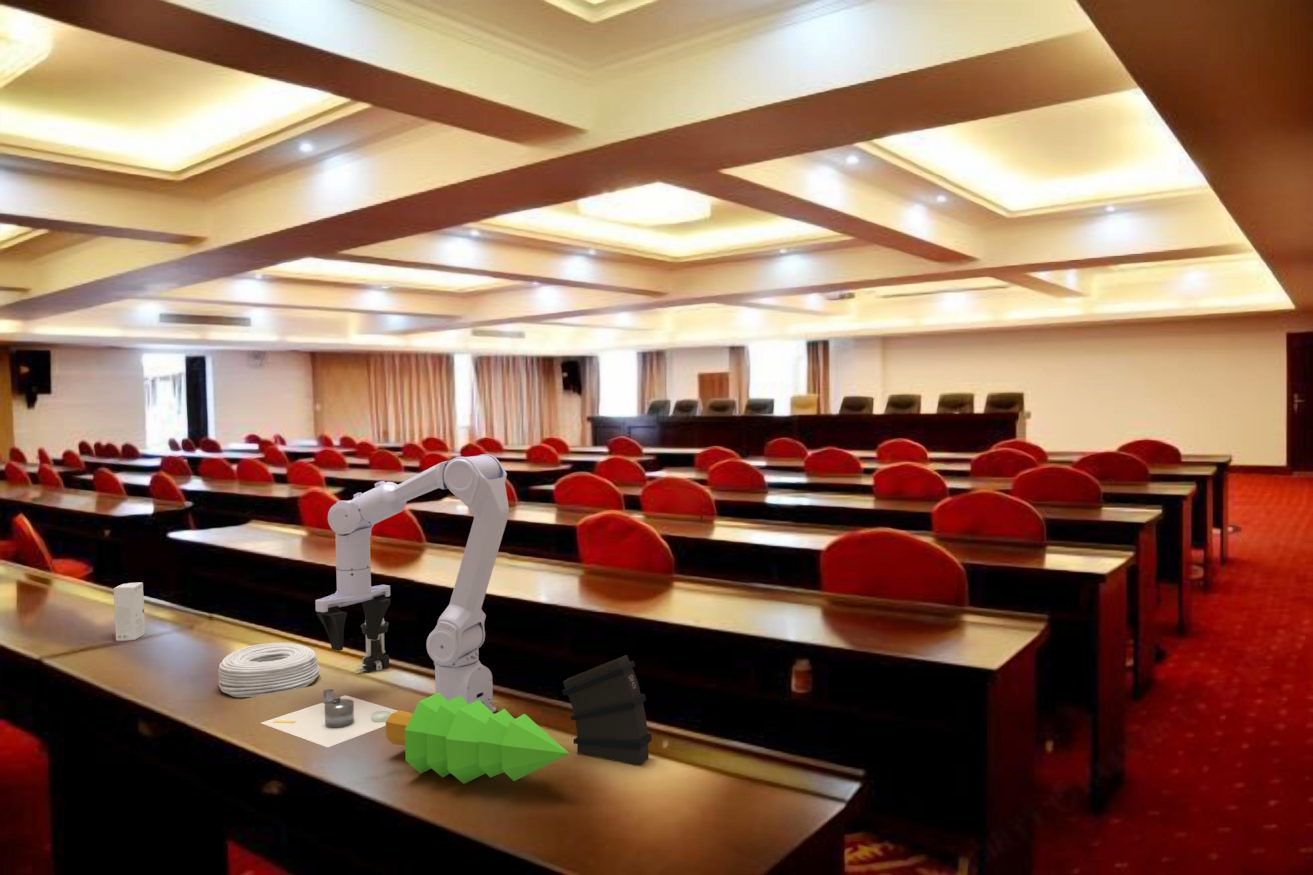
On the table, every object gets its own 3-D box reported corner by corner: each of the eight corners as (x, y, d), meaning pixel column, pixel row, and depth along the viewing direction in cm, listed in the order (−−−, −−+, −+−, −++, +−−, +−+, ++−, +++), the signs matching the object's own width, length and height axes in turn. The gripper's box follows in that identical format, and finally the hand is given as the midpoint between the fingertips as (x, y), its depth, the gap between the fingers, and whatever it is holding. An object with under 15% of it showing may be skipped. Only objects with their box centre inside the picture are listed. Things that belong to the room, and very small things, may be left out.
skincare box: (136, 640, 192) (134, 586, 191) (114, 641, 191) (112, 587, 190) (146, 633, 198) (144, 581, 197) (124, 634, 197) (123, 582, 196)
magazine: (659, 759, 121) (618, 659, 123) (587, 783, 126) (549, 687, 129) (670, 750, 124) (630, 653, 127) (600, 773, 130) (563, 679, 132)
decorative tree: (407, 671, 128) (578, 692, 115) (430, 731, 132) (598, 757, 119) (356, 723, 119) (535, 752, 105) (382, 786, 123) (558, 821, 110)
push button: (363, 676, 165) (362, 625, 164) (350, 670, 168) (349, 620, 168) (394, 668, 169) (393, 619, 169) (381, 663, 173) (380, 614, 173)
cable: (260, 668, 171) (259, 638, 171) (338, 673, 168) (338, 642, 167) (196, 697, 154) (195, 664, 154) (282, 703, 151) (281, 669, 150)
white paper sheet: (413, 721, 141) (412, 710, 141) (327, 753, 128) (327, 741, 128) (345, 700, 151) (345, 690, 151) (260, 728, 138) (260, 717, 138)
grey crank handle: (357, 723, 137) (357, 702, 137) (329, 729, 134) (328, 707, 134) (340, 706, 145) (340, 686, 145) (313, 711, 142) (313, 691, 142)
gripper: (371, 559, 158) (372, 631, 159) (303, 572, 146) (305, 651, 146) (397, 562, 155) (399, 636, 155) (330, 576, 142) (332, 656, 143)
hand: (355, 644), depth 150 cm, fingers open, 7 cm apart
